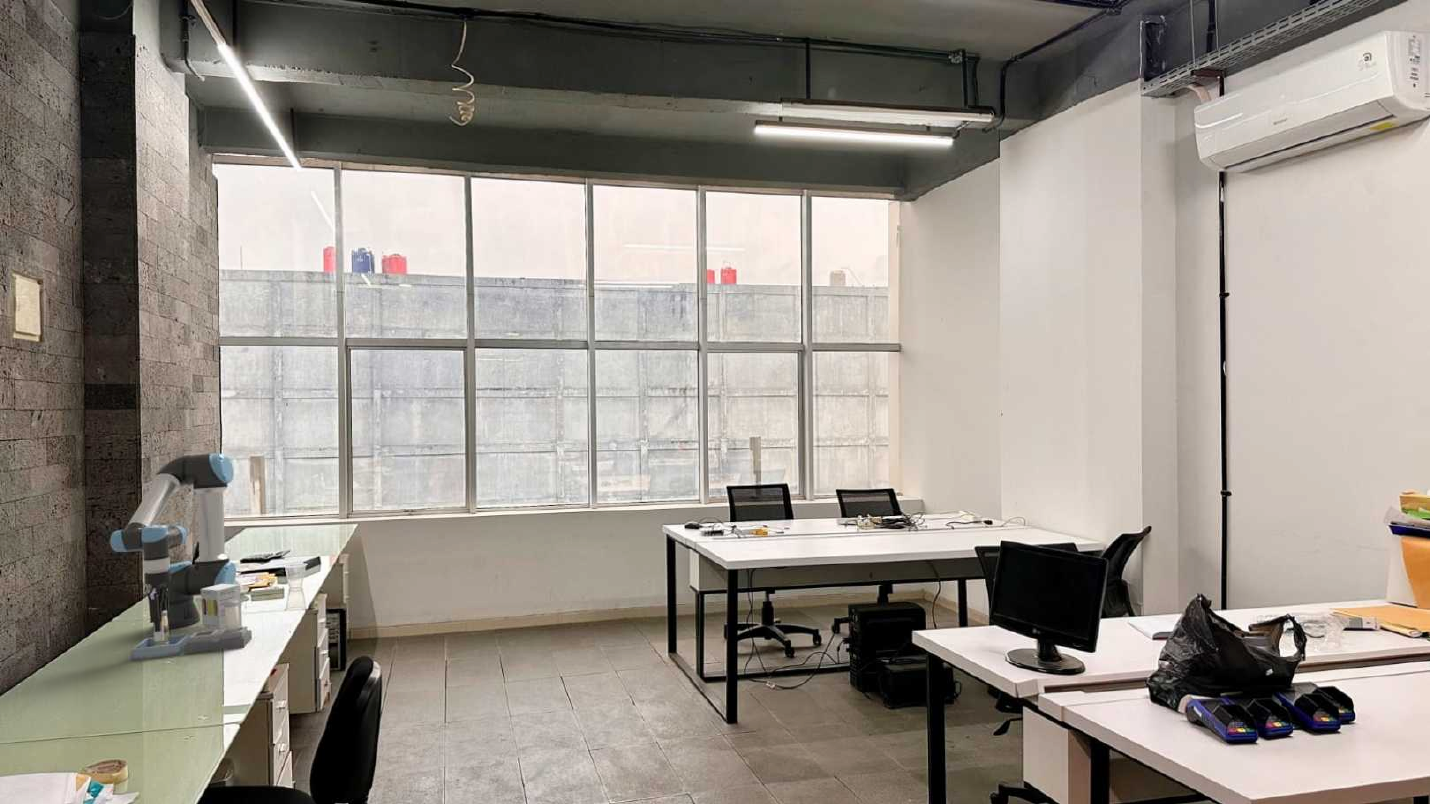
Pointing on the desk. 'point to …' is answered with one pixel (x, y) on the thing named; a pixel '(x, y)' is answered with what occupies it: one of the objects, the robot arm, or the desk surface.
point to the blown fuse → (165, 627)
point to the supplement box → (218, 605)
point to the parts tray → (160, 647)
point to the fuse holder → (221, 634)
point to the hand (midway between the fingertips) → (161, 638)
